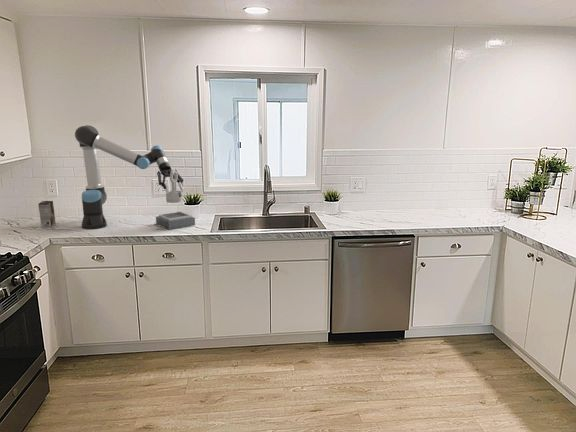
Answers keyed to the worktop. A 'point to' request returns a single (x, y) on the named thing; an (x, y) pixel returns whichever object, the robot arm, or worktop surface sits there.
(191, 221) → the grey square tray
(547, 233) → the worktop surface
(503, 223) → the worktop surface
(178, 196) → the engine component
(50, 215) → the coffee box
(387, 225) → the worktop surface
